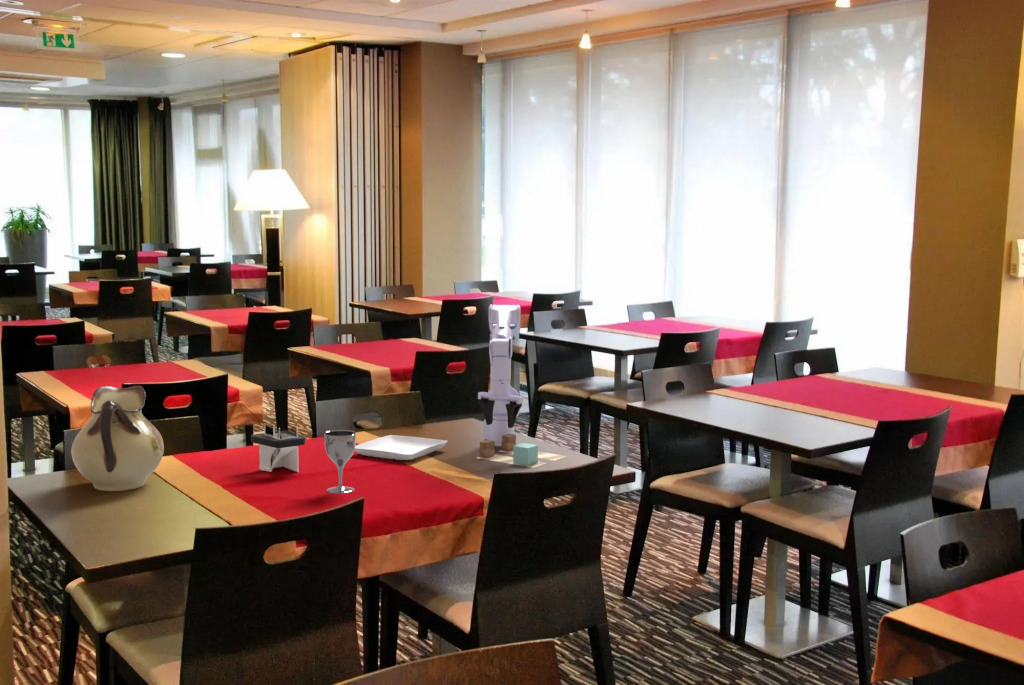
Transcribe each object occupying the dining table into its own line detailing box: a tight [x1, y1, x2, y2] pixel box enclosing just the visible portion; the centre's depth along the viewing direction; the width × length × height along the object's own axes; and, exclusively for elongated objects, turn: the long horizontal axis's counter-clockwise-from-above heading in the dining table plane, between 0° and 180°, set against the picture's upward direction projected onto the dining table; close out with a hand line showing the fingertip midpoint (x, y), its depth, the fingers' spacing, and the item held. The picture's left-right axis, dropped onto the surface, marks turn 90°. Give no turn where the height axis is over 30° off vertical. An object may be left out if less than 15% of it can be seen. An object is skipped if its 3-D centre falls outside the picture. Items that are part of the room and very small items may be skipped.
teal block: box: [512, 442, 539, 466], centre depth 300 cm, size 5×5×5 cm
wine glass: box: [323, 429, 357, 495], centre depth 271 cm, size 8×8×15 cm
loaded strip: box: [476, 440, 547, 469], centre depth 303 cm, size 20×7×5 cm, turn 55°
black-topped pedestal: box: [250, 423, 306, 473], centre depth 291 cm, size 28×26×13 cm
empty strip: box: [497, 433, 568, 461], centre depth 312 cm, size 20×7×5 cm, turn 55°
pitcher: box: [70, 385, 165, 492], centre depth 272 cm, size 22×24×25 cm
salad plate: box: [354, 434, 448, 462], centre depth 315 cm, size 21×21×3 cm
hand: (500, 425), depth 308 cm, fingers open, 7 cm apart
